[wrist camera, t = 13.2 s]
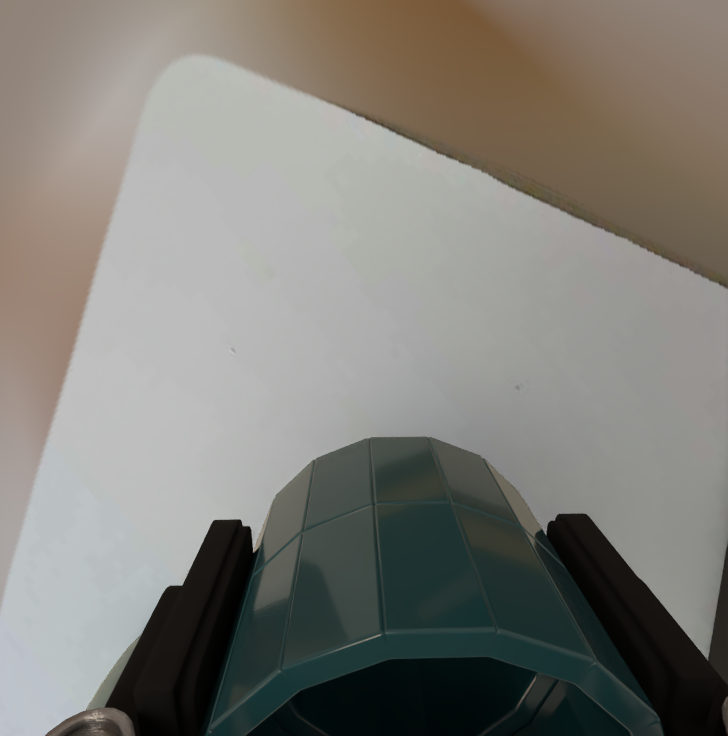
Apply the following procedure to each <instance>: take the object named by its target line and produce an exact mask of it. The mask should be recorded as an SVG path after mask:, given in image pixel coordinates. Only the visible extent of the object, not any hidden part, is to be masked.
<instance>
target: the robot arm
mask: <svg viewBox="0 0 728 736" xmlns="http://www.w3.org/2000/svg"><path fill="white" fill-rule="evenodd" d="M546 536H547V538H548V539H549V541H550V543H551V544H552V546H553V547H554V549H555V551H556V552H557V554H558V556H559V557H560V559H561V560H562V562H563V564H564V565H565V567H566V569H567V570H568V571H569V573H570V575H571V576H572V578H573V579H574V581H575V582H576V584H577V586H578V587H579V589H580V590H581V592H582V594H583V595H584V597H585V598H586V600H587V602H588V603H589V605H590V606H591V608H592V610H593V611H594V613H595V614H596V616H597V618H598V619H599V621H600V623H601V624H602V626H603V627H604V629H605V631H606V632H607V634H608V635H609V637H610V639H611V640H612V642H613V643H614V645H615V647H616V648H617V650H618V651H619V653H620V655H621V656H622V658H623V659H624V661H625V663H626V664H627V666H628V667H629V669H630V671H631V672H632V674H633V676H634V677H635V679H636V680H637V682H638V684H639V685H640V687H641V688H642V690H643V692H644V693H645V695H646V696H647V698H648V700H649V701H650V703H651V704H652V706H653V708H654V709H655V711H656V712H657V714H658V716H659V717H660V720H661V723H662V726H663V729H664V732H665V735H666V736H728V685H727V684H726V682H725V681H724V680H723V679H722V678H721V676H720V675H719V674H718V673H717V671H716V670H715V669H714V668H713V666H712V665H711V664H710V663H709V662H708V660H707V659H706V658H705V657H704V655H703V654H702V653H701V652H700V650H699V649H698V648H697V647H696V646H695V644H694V643H693V642H692V641H691V639H690V638H689V637H688V636H687V634H686V633H685V632H684V631H683V630H682V628H681V627H680V626H679V625H678V623H677V622H676V621H675V620H674V619H673V617H672V616H671V615H670V614H669V612H668V611H667V610H666V609H665V607H664V606H663V605H662V604H661V603H660V601H659V600H658V599H657V598H656V596H655V595H654V594H653V593H652V591H651V590H650V589H649V588H648V587H647V585H646V584H645V583H644V582H643V581H642V580H641V579H639V578H638V577H637V576H636V574H635V573H634V572H633V571H632V569H631V568H630V567H629V566H628V564H627V563H626V562H625V561H624V559H623V558H622V557H621V556H620V554H619V553H618V552H617V551H616V549H615V548H614V547H613V546H612V545H611V543H610V542H609V541H608V540H607V538H606V537H605V536H604V535H603V533H602V532H601V531H600V530H599V528H598V527H597V526H596V525H595V523H594V522H593V521H592V520H591V519H590V517H589V516H588V515H587V514H558V515H557V517H556V519H555V521H550V522H549V523H548V527H547V535H546ZM252 555H253V546H252V534H251V528H250V526H243V525H242V521H241V520H214V521H213V522H212V524H211V526H210V528H209V531H208V533H207V535H206V537H205V539H204V541H203V543H202V545H201V547H200V550H199V552H198V554H197V556H196V558H195V560H194V562H193V564H192V567H191V569H190V571H189V573H188V575H187V577H186V579H185V581H184V583H183V586H169V587H168V588H166V590H165V591H164V593H163V594H162V596H161V598H160V600H159V602H158V604H157V606H156V608H155V610H154V611H153V613H152V615H151V617H150V619H149V621H148V623H147V625H146V627H145V629H144V631H143V633H142V635H141V637H140V639H139V641H138V643H137V644H136V646H135V648H134V650H133V652H132V654H131V656H130V658H129V660H128V662H127V664H126V666H125V668H124V670H123V672H122V674H121V675H120V677H119V679H118V681H117V683H116V685H115V687H114V689H113V691H112V693H111V695H110V697H109V699H108V701H107V703H106V705H105V707H104V708H100V707H99V708H95V709H91V710H87V711H83V712H81V713H79V714H77V715H74V716H72V717H70V718H68V719H66V720H65V721H63V722H62V723H60V724H59V725H58V726H56V727H55V728H53V729H52V730H51V731H49V732H48V733H47V734H46V735H45V736H197V735H198V733H199V729H200V726H201V723H202V720H203V716H204V713H205V710H206V706H207V703H208V700H209V697H210V693H211V690H212V687H213V683H214V680H215V677H216V674H217V670H218V667H219V664H220V660H221V657H222V654H223V650H224V647H225V644H226V641H227V637H228V634H229V631H230V628H231V624H232V621H233V618H234V614H235V611H236V608H237V604H238V601H239V598H240V595H241V591H242V588H243V585H244V581H245V578H246V575H247V571H248V568H249V565H250V562H251V558H252Z"/></svg>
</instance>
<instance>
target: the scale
mask: <svg viewBox="0 0 728 736" xmlns="http://www.w3.org/2000/svg"><path fill="white" fill-rule="evenodd" d="M709 663H710V664H711V665H712V666H713V668H714V669H715V670H716V671H717V673H718V674H719V675H720V676H721V678H722V679H723V680H724V681H725V682H726V684H727V685H728V548H727V554H726V560H725V566H724V572H723V578H722V584H721V590H720V596H719V602H718V608H717V614H716V620H715V626H714V632H713V638H712V644H711V650H710V656H709Z"/></svg>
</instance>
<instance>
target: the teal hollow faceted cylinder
mask: <svg viewBox="0 0 728 736" xmlns="http://www.w3.org/2000/svg"><path fill="white" fill-rule="evenodd" d="M197 736H666V735H665V732H664V729H663V726H662V723H661V720H660V717H659V716H658V714H657V712H656V711H655V709H654V708H653V706H652V704H651V703H650V701H649V700H648V698H647V696H646V695H645V693H644V692H643V690H642V688H641V687H640V685H639V684H638V682H637V680H636V679H635V677H634V676H633V674H632V672H631V671H630V669H629V667H628V666H627V664H626V663H625V661H624V659H623V658H622V656H621V655H620V653H619V651H618V650H617V648H616V647H615V645H614V643H613V642H612V640H611V639H610V637H609V635H608V634H607V632H606V631H605V629H604V627H603V626H602V624H601V623H600V621H599V619H598V618H597V616H596V614H595V613H594V611H593V610H592V608H591V606H590V605H589V603H588V602H587V600H586V598H585V597H584V595H583V594H582V592H581V590H580V589H579V587H578V586H577V584H576V582H575V581H574V579H573V578H572V576H571V575H570V573H569V571H568V570H567V569H566V567H565V565H564V564H563V562H562V560H561V559H560V557H559V556H558V554H557V552H556V551H555V549H554V547H553V546H552V544H551V543H550V541H549V539H548V538H547V536H546V535H545V533H544V531H543V530H542V528H541V527H540V525H539V523H538V522H537V520H536V519H535V517H534V515H533V514H532V512H531V510H530V509H529V507H528V506H527V504H526V502H525V501H524V499H523V498H522V496H521V494H520V493H519V491H518V490H517V489H516V488H515V487H514V486H513V485H512V484H511V483H509V482H508V481H507V480H506V479H505V478H504V477H503V476H502V475H501V474H500V473H499V472H498V471H497V470H496V469H495V468H494V467H493V466H492V465H491V464H490V463H489V462H488V461H487V460H485V459H484V458H482V457H481V456H480V455H477V454H474V453H472V452H469V451H466V450H464V449H461V448H458V447H456V446H453V445H450V444H448V443H445V442H442V441H440V440H437V439H434V438H431V437H429V438H428V437H372V438H370V439H368V438H366V439H364V440H361V441H359V442H356V443H354V444H351V445H349V446H346V447H344V448H341V449H338V450H336V451H333V452H331V453H328V454H326V455H323V456H321V457H318V458H316V459H315V460H313V461H311V462H310V463H309V464H308V465H307V466H306V467H305V468H304V469H303V470H302V471H301V472H300V473H299V474H298V475H297V476H296V477H295V478H294V479H293V480H291V481H290V482H289V483H288V484H287V485H286V486H285V487H284V488H283V489H282V490H281V491H280V492H279V493H278V494H277V495H276V497H275V499H274V500H273V502H272V504H271V507H270V509H269V512H268V514H267V517H266V519H265V522H264V524H263V527H262V529H261V532H260V534H259V537H258V539H257V542H256V545H255V548H254V552H253V555H252V558H251V562H250V565H249V568H248V571H247V575H246V578H245V581H244V585H243V588H242V591H241V595H240V598H239V601H238V604H237V608H236V611H235V614H234V618H233V621H232V624H231V628H230V631H229V634H228V637H227V641H226V644H225V647H224V650H223V654H222V657H221V660H220V664H219V667H218V670H217V674H216V677H215V680H214V683H213V687H212V690H211V693H210V697H209V700H208V703H207V706H206V710H205V713H204V716H203V720H202V723H201V726H200V729H199V733H198V735H197Z"/></svg>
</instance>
